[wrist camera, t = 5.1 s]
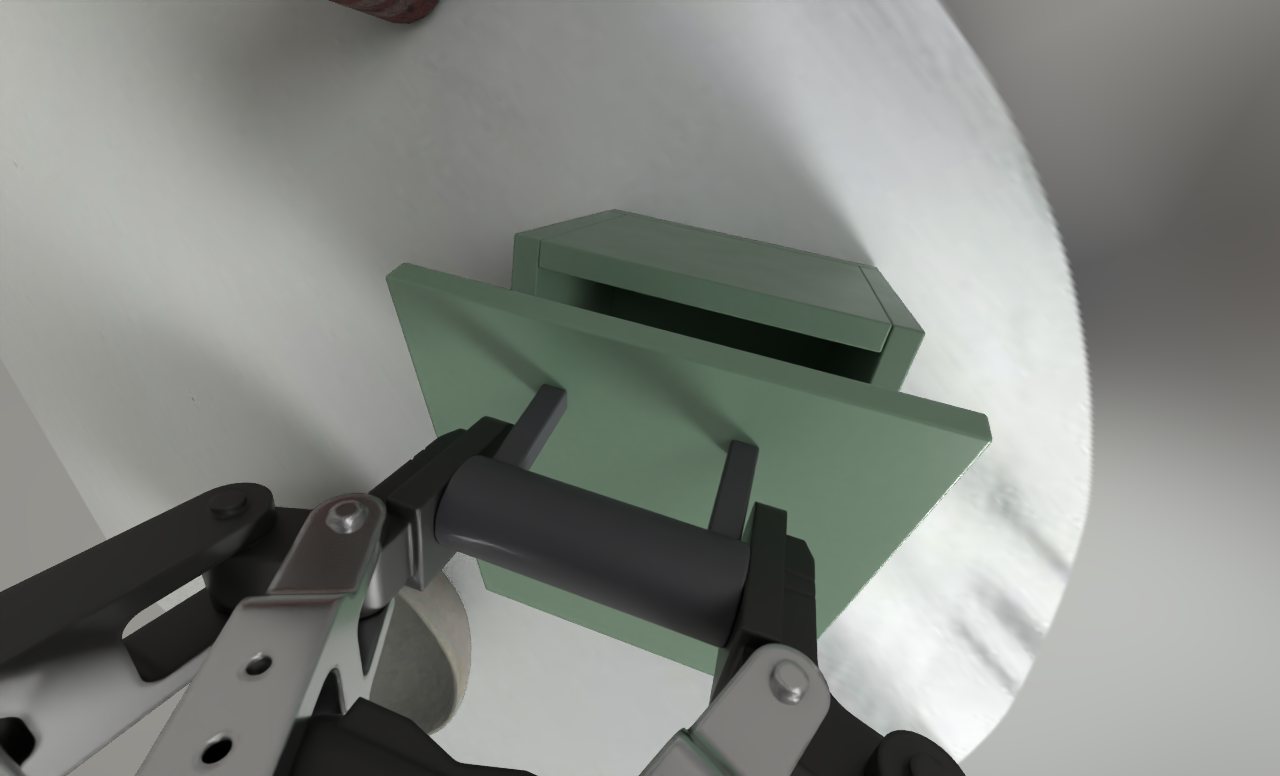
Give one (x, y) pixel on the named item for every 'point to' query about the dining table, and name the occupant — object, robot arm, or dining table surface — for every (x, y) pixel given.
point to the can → (392, 8)
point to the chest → (724, 292)
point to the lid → (661, 462)
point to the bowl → (425, 656)
